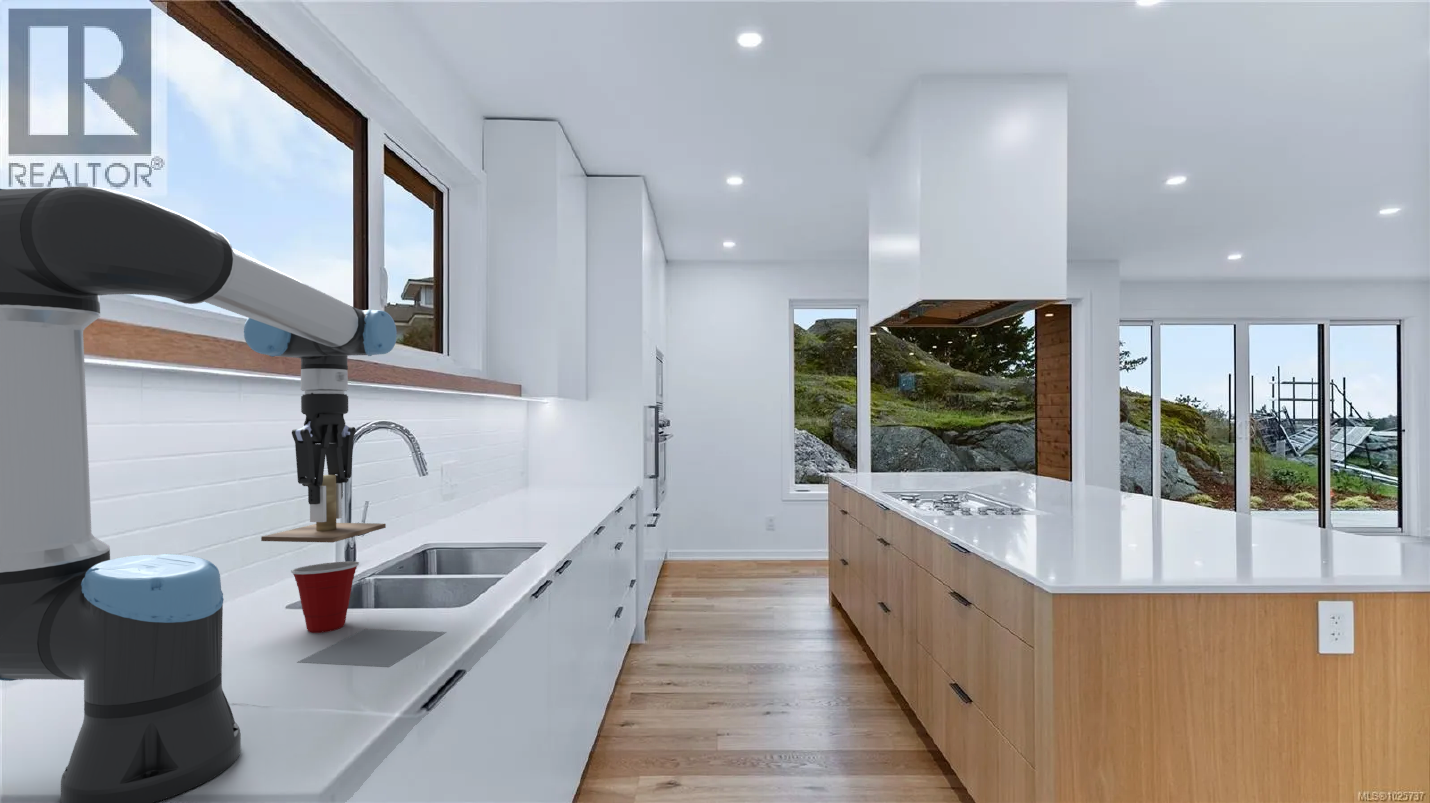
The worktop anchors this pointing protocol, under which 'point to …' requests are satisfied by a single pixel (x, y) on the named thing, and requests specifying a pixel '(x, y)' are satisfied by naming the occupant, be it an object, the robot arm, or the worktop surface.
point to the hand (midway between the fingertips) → (326, 519)
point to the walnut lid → (325, 524)
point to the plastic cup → (325, 594)
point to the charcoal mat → (373, 648)
